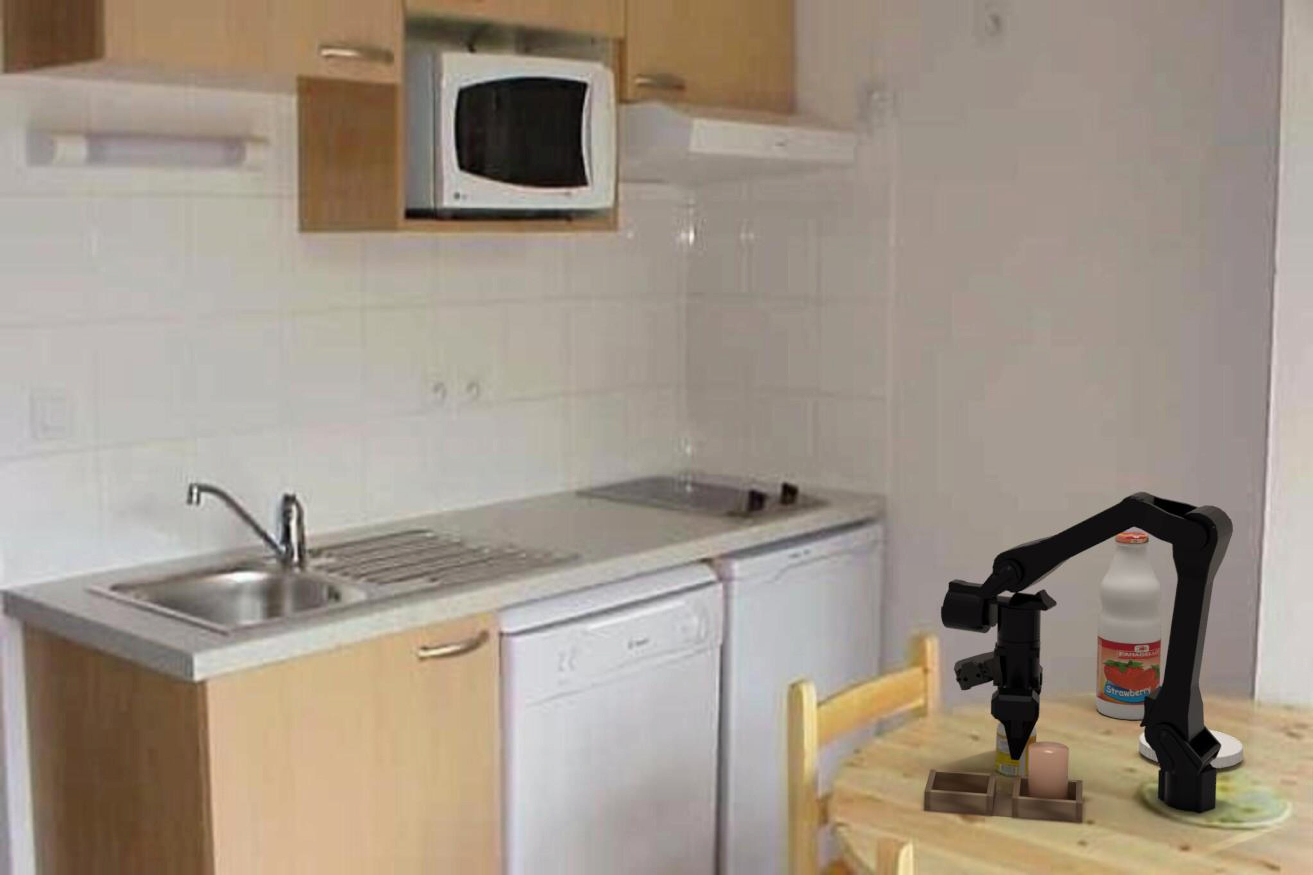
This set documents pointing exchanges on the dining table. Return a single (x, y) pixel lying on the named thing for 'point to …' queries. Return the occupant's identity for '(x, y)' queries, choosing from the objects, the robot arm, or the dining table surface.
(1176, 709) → the robot arm
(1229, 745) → the plastic lid
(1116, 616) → the fruit juice
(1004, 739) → the supplement bottle
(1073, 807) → the rack
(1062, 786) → the pink cylinder
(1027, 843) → the dining table surface
